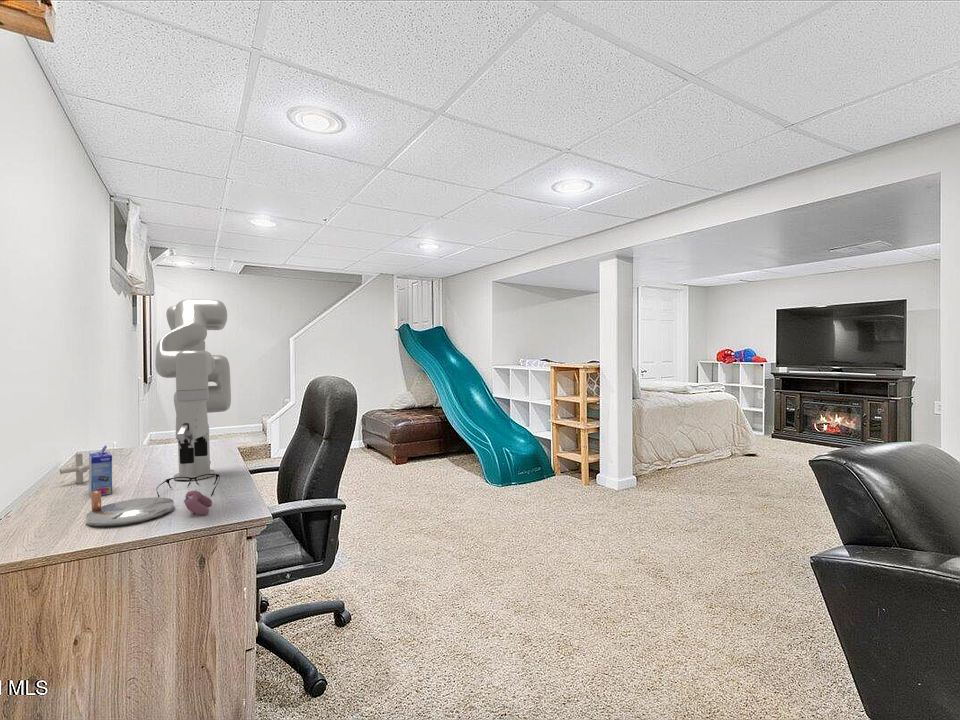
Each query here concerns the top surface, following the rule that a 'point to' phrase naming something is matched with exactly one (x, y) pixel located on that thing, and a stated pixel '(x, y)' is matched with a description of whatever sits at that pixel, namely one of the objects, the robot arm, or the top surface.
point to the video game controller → (197, 502)
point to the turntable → (126, 510)
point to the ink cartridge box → (100, 472)
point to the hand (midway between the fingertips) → (194, 459)
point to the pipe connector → (77, 468)
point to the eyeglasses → (191, 479)
